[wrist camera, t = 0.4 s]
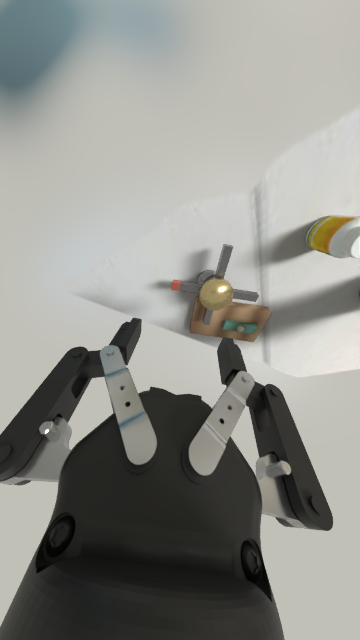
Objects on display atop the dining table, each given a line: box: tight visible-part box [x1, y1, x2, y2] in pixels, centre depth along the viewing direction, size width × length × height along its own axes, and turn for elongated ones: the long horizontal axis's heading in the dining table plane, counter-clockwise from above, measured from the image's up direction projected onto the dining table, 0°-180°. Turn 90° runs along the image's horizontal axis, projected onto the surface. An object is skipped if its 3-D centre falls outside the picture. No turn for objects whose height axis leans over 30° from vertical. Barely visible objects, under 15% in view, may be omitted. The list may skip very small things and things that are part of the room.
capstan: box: [172, 244, 259, 325], centre depth 31 cm, size 17×17×7 cm
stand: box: [190, 297, 272, 342], centre depth 38 cm, size 18×10×5 cm, turn 83°
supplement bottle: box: [306, 215, 360, 259], centre depth 23 cm, size 5×5×10 cm
